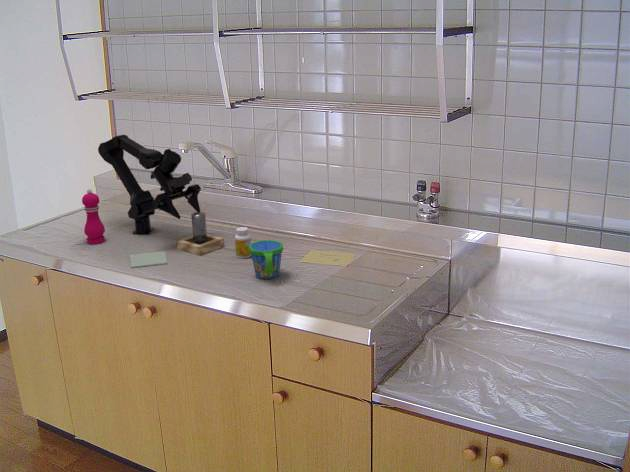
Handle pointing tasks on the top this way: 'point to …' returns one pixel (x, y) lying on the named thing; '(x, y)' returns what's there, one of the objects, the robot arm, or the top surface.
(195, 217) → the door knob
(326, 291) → the top surface
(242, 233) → the supplement bottle
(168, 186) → the robot arm
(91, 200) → the pepper mill
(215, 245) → the collar block
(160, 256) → the rubber mat
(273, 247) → the snack cup
